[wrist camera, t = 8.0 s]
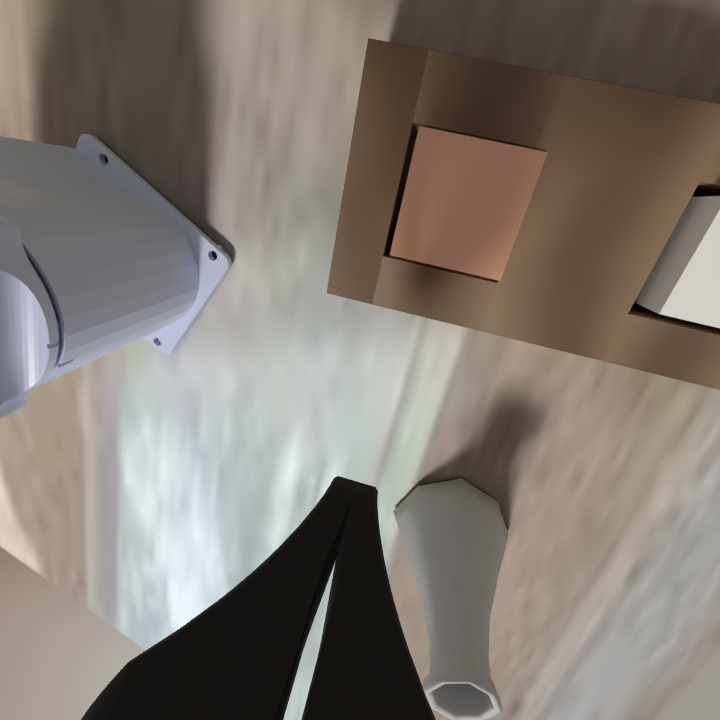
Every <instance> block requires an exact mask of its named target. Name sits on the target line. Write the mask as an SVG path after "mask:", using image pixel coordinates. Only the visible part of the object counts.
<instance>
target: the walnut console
mask: <svg viewBox="0 0 720 720" xmlns="http://www.w3.org/2000/svg"><path fill="white" fill-rule="evenodd" d="M419 126H422V127H427V128H431V129H436V130H441V131H446V132H451V133H456V134H461V135H466V136H470V137H475V138H480V139H485V140H490V141H495V142H500V143H505V144H509V145H514V146H519V147H524V148H529V149H534V150H539V151H544V152H548V153H547V156H546V159H545V161H544V164H543V167H542V169H541V172H540V175H539V178H538V180H537V183H536V186H535V188H534V191H533V194H532V197H531V199H530V202H529V205H528V207H527V210H526V213H525V216H524V218H523V221H522V224H521V226H520V229H519V232H518V235H517V237H516V240H515V243H514V245H513V248H512V251H511V253H510V256H509V259H508V262H507V264H506V267H505V270H504V272H503V275H502V278H501V281H498V280H494V279H489V278H485V277H481V276H477V275H472V274H468V273H464V272H460V271H455V270H451V269H447V268H443V267H438V266H434V265H430V264H426V263H421V262H417V261H413V260H408V259H404V258H400V257H396V256H391V255H390V251H391V245H392V240H393V236H394V232H395V227H396V223H397V218H398V214H399V210H400V205H401V201H402V197H403V192H404V188H405V183H406V179H407V175H408V170H409V166H410V162H411V157H412V153H413V149H414V144H415V140H416V138H417V134H418V129H419ZM692 196H694V197H702V196H720V104H715V103H710V102H704V101H699V100H694V99H689V98H683V97H678V96H673V95H667V94H662V93H657V92H651V91H646V90H641V89H635V88H630V87H625V86H619V85H614V84H609V83H603V82H598V81H593V80H587V79H582V78H577V77H571V76H566V75H561V74H556V73H550V72H545V71H540V70H534V69H529V68H524V67H518V66H513V65H508V64H502V63H497V62H492V61H486V60H481V59H476V58H470V57H465V56H460V55H454V54H449V53H444V52H439V51H433V50H428V49H423V48H417V47H412V46H407V45H401V44H396V43H391V42H385V41H380V40H375V39H369V38H368V44H367V50H366V56H365V62H364V68H363V75H362V81H361V87H360V93H359V99H358V105H357V111H356V117H355V123H354V130H353V136H352V142H351V148H350V154H349V160H348V166H347V172H346V179H345V185H344V191H343V197H342V203H341V209H340V215H339V221H338V228H337V234H336V240H335V246H334V252H333V258H332V264H331V270H330V276H329V283H328V289H327V293H329V294H333V295H337V296H341V297H345V298H349V299H353V300H357V301H361V302H365V303H369V304H373V305H377V306H381V307H386V308H390V309H394V310H398V311H402V312H406V313H410V314H414V315H418V316H422V317H426V318H430V319H434V320H438V321H442V322H446V323H451V324H455V325H459V326H463V327H467V328H471V329H475V330H479V331H483V332H487V333H491V334H495V335H499V336H503V337H507V338H511V339H515V340H520V341H524V342H528V343H532V344H536V345H540V346H544V347H548V348H552V349H556V350H560V351H564V352H568V353H572V354H576V355H580V356H585V357H589V358H593V359H597V360H601V361H605V362H609V363H613V364H617V365H621V366H625V367H629V368H633V369H637V370H641V371H645V372H649V373H654V374H658V375H662V376H666V377H670V378H674V379H678V380H682V381H686V382H690V383H694V384H698V385H702V386H706V387H710V388H714V389H719V390H720V328H717V327H712V326H708V325H704V324H699V323H695V322H691V321H687V320H682V319H678V318H674V317H670V316H665V315H661V314H658V313H656V312H654V311H651V310H649V309H647V308H645V307H643V306H640V305H636V304H634V302H635V300H636V298H637V296H638V294H639V293H640V291H641V289H642V287H643V285H644V283H645V282H646V280H647V278H648V276H649V274H650V272H651V271H652V269H653V267H654V265H655V263H656V261H657V259H658V258H659V256H660V254H661V252H662V250H663V248H664V247H665V245H666V243H667V241H668V239H669V237H670V236H671V234H672V232H673V230H674V228H675V226H676V225H677V223H678V221H679V219H680V217H681V215H682V213H683V212H684V210H685V208H686V206H687V204H688V202H689V201H690V199H691V197H692Z"/></svg>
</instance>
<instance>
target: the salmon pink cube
mask: <svg viewBox="0 0 720 720" xmlns="http://www.w3.org/2000/svg"><path fill="white" fill-rule="evenodd" d="M547 153H548V152H544V151H539V150H534V149H529V148H524V147H519V146H514V145H509V144H505V143H500V142H495V141H490V140H485V139H480V138H475V137H470V136H466V135H461V134H456V133H451V132H446V131H441V130H436V129H431V128H427V127H422V126H419V129H418V134H417V138H416V142H415V147H414V151H413V155H412V160H411V164H410V168H409V173H408V177H407V182H406V186H405V190H404V195H403V199H402V203H401V208H400V212H399V216H398V221H397V225H396V230H395V234H394V238H393V243H392V247H391V251H390V255H391V256H396V257H400V258H404V259H408V260H413V261H417V262H421V263H426V264H430V265H434V266H438V267H443V268H447V269H451V270H455V271H460V272H464V273H468V274H472V275H477V276H481V277H485V278H489V279H494V280H498V281H501V278H502V275H503V272H504V270H505V267H506V264H507V262H508V259H509V256H510V253H511V251H512V248H513V245H514V243H515V240H516V237H517V235H518V232H519V229H520V226H521V224H522V221H523V218H524V216H525V213H526V210H527V207H528V205H529V202H530V199H531V197H532V194H533V191H534V188H535V186H536V183H537V180H538V178H539V175H540V172H541V169H542V167H543V164H544V161H545V159H546V156H547Z"/></svg>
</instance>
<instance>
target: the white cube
mask: <svg viewBox="0 0 720 720" xmlns="http://www.w3.org/2000/svg"><path fill="white" fill-rule="evenodd" d="M634 303H637V304H639V305H641V306H643V307H645V308H647V309H649V310H651V311H654V312H656V313H658V314H661V315H665V316H670V317H674V318H678V319H682V320H687V321H691V322H695V323H699V324H704V325H708V326H712V327H717V328H720V196H702V197H691V199H690V201H689V202H688V204H687V206H686V208H685V210H684V212H683V213H682V215H681V217H680V219H679V221H678V223H677V225H676V226H675V228H674V230H673V232H672V234H671V236H670V237H669V239H668V241H667V243H666V245H665V247H664V248H663V250H662V252H661V254H660V256H659V258H658V259H657V261H656V263H655V265H654V267H653V269H652V271H651V272H650V274H649V276H648V278H647V280H646V282H645V283H644V285H643V287H642V289H641V291H640V293H639V294H638V296H637V298H636V300H635V302H634Z"/></svg>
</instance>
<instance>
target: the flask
mask: <svg viewBox="0 0 720 720" xmlns="http://www.w3.org/2000/svg"><path fill="white" fill-rule="evenodd" d="M394 514H395V518H396V521H397V524H398V527H399V530H400V533H401V536H402V538H403V541H404V544H405V547H406V550H407V553H408V556H409V559H410V562H411V565H412V569H413V572H414V575H415V579H416V582H417V585H418V588H419V592H420V595H421V598H422V601H423V606H424V612H425V618H426V624H427V630H428V636H429V648H430V670H429V675H428V676H426V677H425V678H424V682H423V690H424V692H425V695H426V697H427V700H428V702H429V704H430V706H431V708H432V709H434V710H436V711H437V712H439V713H441V714H443V715H444V716H446V717H448V718H450V719H451V720H488V719H490V718H492V717H494V716H496V715H498V714H500V713H502V712H503V711H502V704H501V701H500V698H499V696H498V693H497V691H496V688H495V686H494V683H493V681H492V680H491V674H490V665H489V657H488V653H489V620H490V614H491V609H492V604H493V599H494V594H495V589H496V584H497V579H498V575H499V571H500V567H501V563H502V559H503V555H504V551H505V547H506V543H507V538H508V532H507V529H506V525H505V522H504V519H503V516H502V513H501V510H500V507H499V503H498V501H496V500H495V499H493V498H491V497H490V496H488V495H487V494H485V493H484V492H482V491H480V490H479V489H477V488H476V487H474V486H472V485H471V484H469V483H468V482H466V481H465V480H463V479H455V480H450V481H444V482H438V483H433V484H427V485H421V486H417V487H416V488H415V489H414V490H413V491H412V493H411V494H410V495H409V496H408V497H407V498H406V499H405V500H404V501H403V502H402V503H401V504H400V505H399V506H398V507H397V508H396V509H395V510H394Z"/></svg>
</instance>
